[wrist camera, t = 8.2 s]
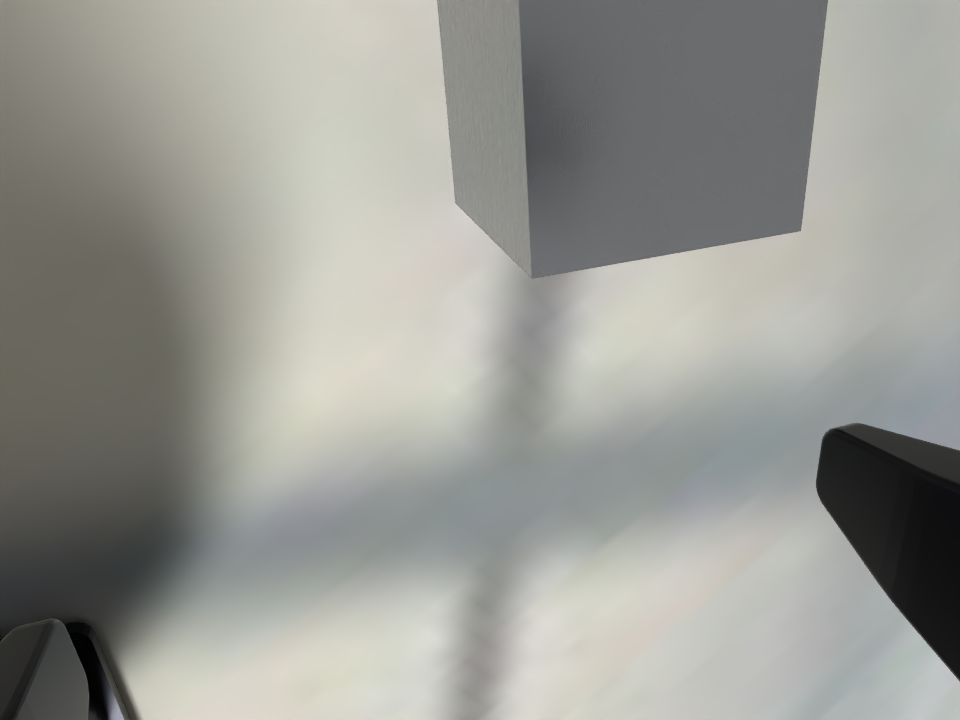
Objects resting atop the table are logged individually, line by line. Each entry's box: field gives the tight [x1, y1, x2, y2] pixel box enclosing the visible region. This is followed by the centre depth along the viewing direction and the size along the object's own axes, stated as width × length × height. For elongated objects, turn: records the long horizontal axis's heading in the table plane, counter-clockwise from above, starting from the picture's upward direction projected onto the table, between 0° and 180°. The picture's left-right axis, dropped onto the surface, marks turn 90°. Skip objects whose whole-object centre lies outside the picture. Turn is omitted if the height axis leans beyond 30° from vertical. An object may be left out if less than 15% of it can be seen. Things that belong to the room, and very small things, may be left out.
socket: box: [437, 0, 828, 279], centre depth 17 cm, size 7×6×6 cm
